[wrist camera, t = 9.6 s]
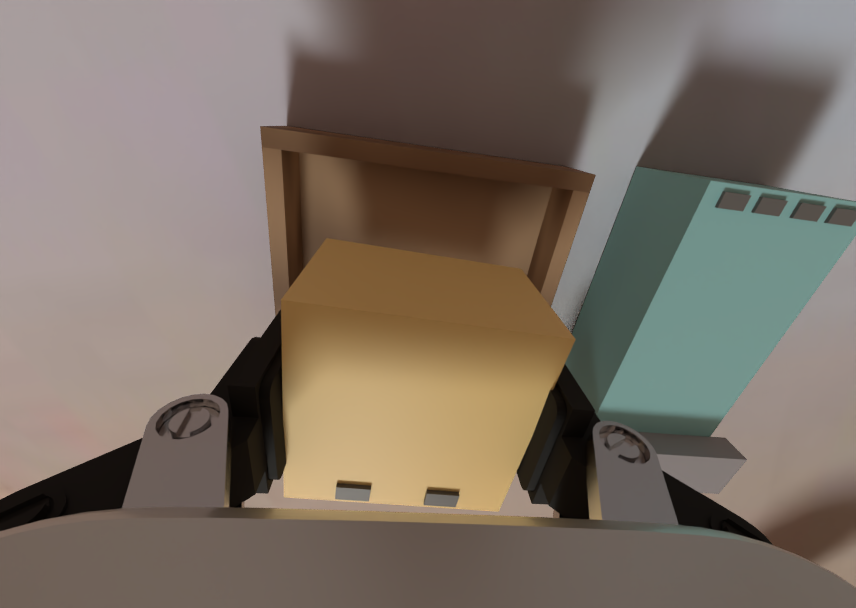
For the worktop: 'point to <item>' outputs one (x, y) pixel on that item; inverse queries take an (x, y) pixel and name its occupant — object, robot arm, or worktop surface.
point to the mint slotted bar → (698, 307)
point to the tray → (416, 203)
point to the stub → (412, 377)
